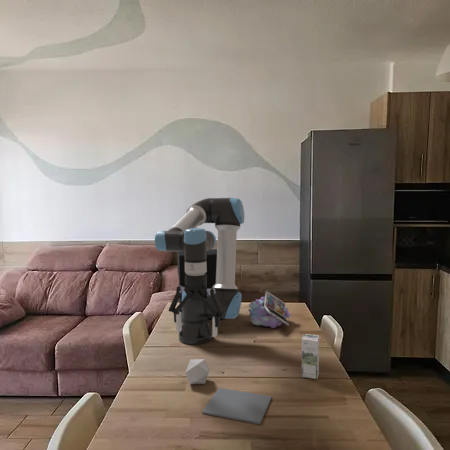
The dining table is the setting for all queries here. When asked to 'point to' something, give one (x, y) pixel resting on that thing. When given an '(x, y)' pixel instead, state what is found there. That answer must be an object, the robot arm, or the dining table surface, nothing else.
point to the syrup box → (310, 356)
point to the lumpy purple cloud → (268, 311)
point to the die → (197, 371)
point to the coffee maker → (211, 272)
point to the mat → (238, 405)
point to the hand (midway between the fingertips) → (196, 333)
